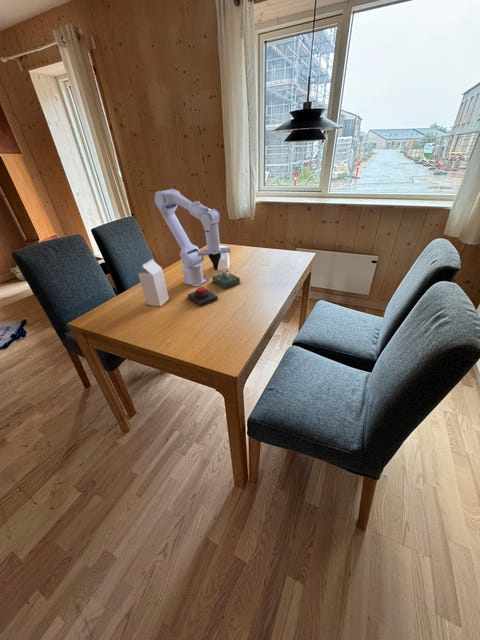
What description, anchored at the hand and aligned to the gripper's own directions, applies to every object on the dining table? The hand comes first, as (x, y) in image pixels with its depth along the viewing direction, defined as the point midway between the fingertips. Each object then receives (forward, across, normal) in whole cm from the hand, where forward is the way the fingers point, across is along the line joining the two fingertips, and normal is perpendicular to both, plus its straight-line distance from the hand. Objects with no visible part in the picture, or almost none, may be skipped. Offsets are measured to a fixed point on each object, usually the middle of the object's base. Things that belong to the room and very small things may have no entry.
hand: (215, 269), depth 122 cm
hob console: (+10, +5, +5) cm, 12 cm away
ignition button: (+7, -8, -8) cm, 13 cm away
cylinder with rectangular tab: (+10, +7, +26) cm, 28 cm away
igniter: (+10, -8, -8) cm, 15 cm away
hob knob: (+7, +5, +5) cm, 10 cm away
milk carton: (+10, -28, -4) cm, 30 cm away
